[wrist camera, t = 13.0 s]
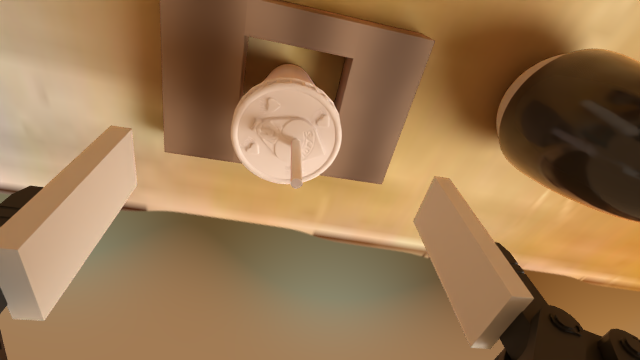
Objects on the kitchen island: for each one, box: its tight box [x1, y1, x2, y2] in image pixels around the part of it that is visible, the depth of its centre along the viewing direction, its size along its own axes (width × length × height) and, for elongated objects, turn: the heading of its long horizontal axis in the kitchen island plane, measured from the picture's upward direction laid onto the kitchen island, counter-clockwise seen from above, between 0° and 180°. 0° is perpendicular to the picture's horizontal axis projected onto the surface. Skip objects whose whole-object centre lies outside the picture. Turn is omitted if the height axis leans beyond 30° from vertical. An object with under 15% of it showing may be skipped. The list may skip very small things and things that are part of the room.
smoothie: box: [231, 64, 342, 188], centre depth 21 cm, size 6×6×14 cm
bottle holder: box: [160, 0, 435, 184], centre depth 26 cm, size 18×12×3 cm, turn 78°
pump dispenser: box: [496, 49, 640, 223], centre depth 23 cm, size 10×10×15 cm
